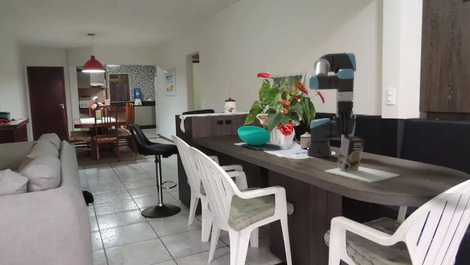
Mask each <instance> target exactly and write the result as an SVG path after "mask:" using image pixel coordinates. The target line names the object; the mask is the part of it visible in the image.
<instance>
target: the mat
mask: <svg viewBox="0 0 470 265" xmlns="http://www.w3.org/2000/svg"><path fill="white" fill-rule="evenodd" d="M323 172H324V173H327V174H332V175H337V176H340V177H343V178H347V179H348V178H349V179H353V180H357V181H361V182H366V183H368V184H372V183H376V182H380V181H383V180H388V179H393V178H396V177H400V174H399V173H393V172H388V171H383V170H379V169H374V168H370V167H369V168H368V167H362V166H359V168H358V170H352V171H343V170H341V169H340V168H338V167H337V168H331V169H326V170H324V171H323Z"/></svg>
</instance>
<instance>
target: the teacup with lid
mask: <svg viewBox="0 0 470 265" xmlns="http://www.w3.org/2000/svg"><path fill="white" fill-rule="evenodd" d="M309 146H310V133H309V132H308V131H307V132H306V131H305V133H304V134H302V135H300V149H301V148H309Z"/></svg>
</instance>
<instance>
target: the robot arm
mask: <svg viewBox="0 0 470 265" xmlns="http://www.w3.org/2000/svg"><path fill="white" fill-rule="evenodd" d="M313 68H314V74H313V75H310V76H309V79H308V88H309V90H315V91H317V90H318V91H319V90H320V91H321V90H323V91H325V90H335V91H336V93H335V96H336V98H335V101H336V103H335V113H334V114H332V116H333V117H332V118H333V120H331V119H330V118H328V117H327V118H317V119H313V120H311V122H310V127H309V129H310V133H309V134H310V146H309V149H307V154H306V155H307V156H308V155H309V156H308V157H311V156H313V158H331V157H332V156H333V152H332V149H331V145H330V140H339V141H340V142H341V144H342V139H343V137H351V136H354V135H355V129H356V119H357V118H358V115H357V114H355V113H354V110H353V108H354V101H353V100H354V82H355V72H356V71H357V60H356V55H355V54H354V53H353V52H341V53H340V52H339V53H338V52H337V53H327V54H323V55H322V56H320V57H318V58H317V59H316V60H315V62H314V65H313ZM329 73H333V74H329ZM341 144H340V145H341Z"/></svg>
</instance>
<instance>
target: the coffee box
mask: <svg viewBox="0 0 470 265" xmlns="http://www.w3.org/2000/svg"><path fill="white" fill-rule="evenodd" d="M365 142H366V139H364V138H361V137H359V136H357V135H356V136H354V135H353V136H351V137H343V139H342V144H340V149H339V152H338V158H337V162H336V167H337V168H340V169H341V170H343V171H352V170H358V168H359V167H360V164H361V161H362V160H361V159H362V156H363V152H364V151H363V150H364V147H365Z"/></svg>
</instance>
